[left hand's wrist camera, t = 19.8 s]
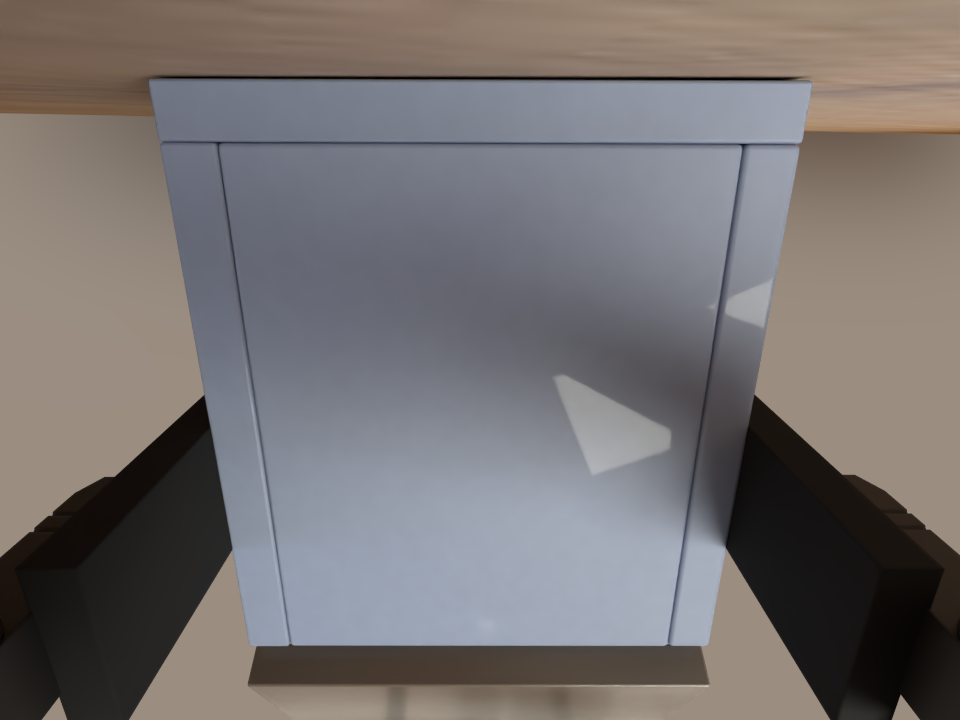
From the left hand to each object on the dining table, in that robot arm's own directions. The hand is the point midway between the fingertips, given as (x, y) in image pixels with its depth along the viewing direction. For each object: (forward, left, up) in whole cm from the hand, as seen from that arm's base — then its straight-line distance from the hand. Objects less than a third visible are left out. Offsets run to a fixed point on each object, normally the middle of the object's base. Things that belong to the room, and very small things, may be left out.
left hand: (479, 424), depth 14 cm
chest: (+3, -3, -7) cm, 8 cm away
